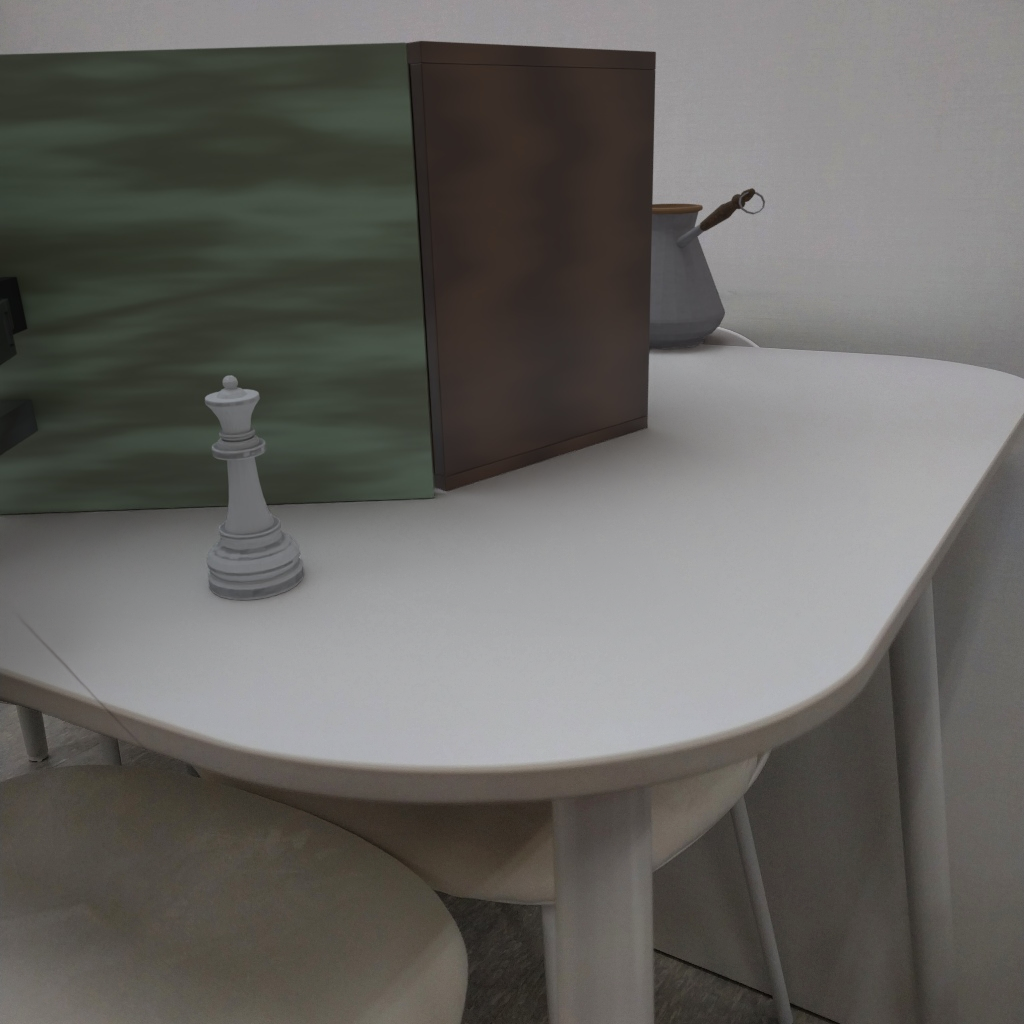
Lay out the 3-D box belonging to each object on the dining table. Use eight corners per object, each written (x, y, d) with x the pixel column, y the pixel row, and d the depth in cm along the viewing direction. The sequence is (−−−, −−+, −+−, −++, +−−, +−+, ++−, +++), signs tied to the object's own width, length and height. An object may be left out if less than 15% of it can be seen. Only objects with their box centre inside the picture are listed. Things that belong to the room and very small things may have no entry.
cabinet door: (427, 545, 49) (393, 27, 41) (-88, 565, 49) (-233, 45, 40) (435, 491, 57) (407, 44, 48) (-12, 507, 56) (-120, 59, 48)
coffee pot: (589, 335, 100) (589, 182, 94) (690, 326, 103) (695, 177, 97) (683, 381, 81) (690, 191, 75) (803, 368, 84) (818, 185, 78)
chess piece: (306, 559, 48) (283, 361, 45) (302, 597, 44) (276, 383, 41) (216, 567, 48) (185, 367, 44) (203, 606, 44) (168, 390, 40)
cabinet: (446, 493, 57) (420, 40, 48) (238, 413, 75) (192, 74, 66) (647, 429, 68) (656, 51, 59) (424, 373, 86) (405, 78, 77)
